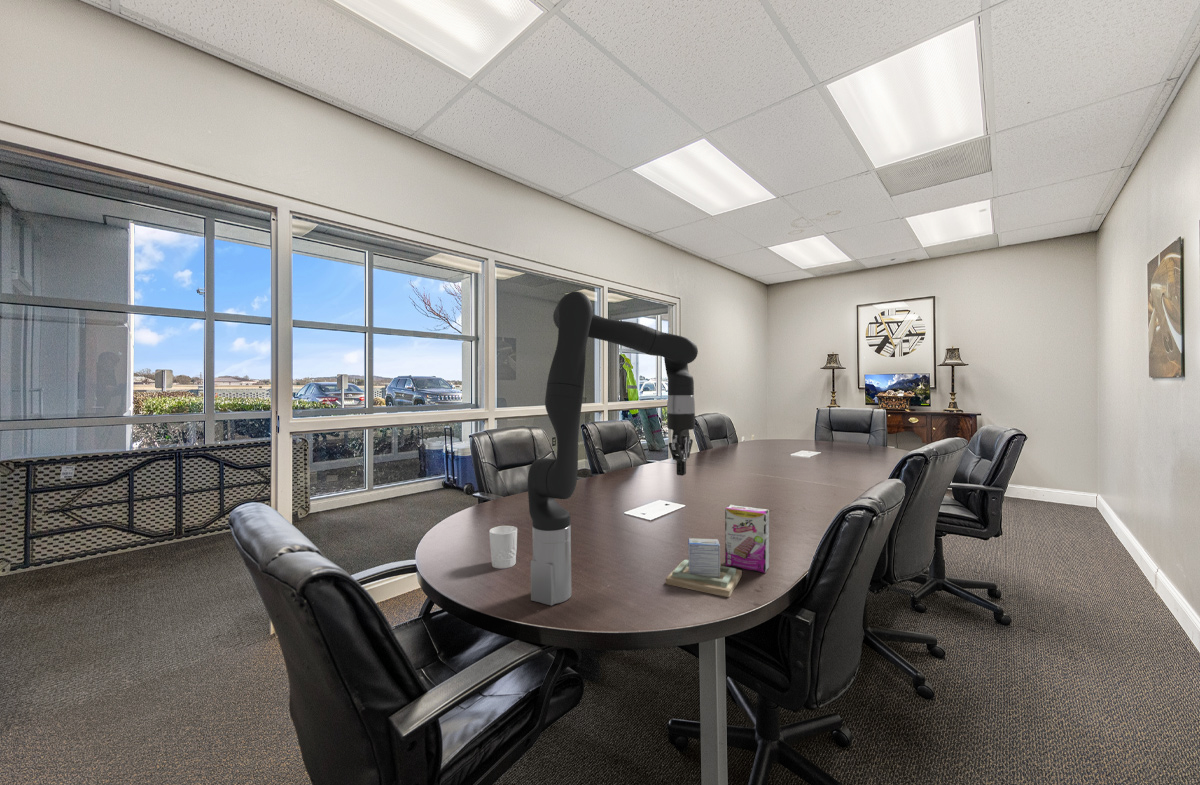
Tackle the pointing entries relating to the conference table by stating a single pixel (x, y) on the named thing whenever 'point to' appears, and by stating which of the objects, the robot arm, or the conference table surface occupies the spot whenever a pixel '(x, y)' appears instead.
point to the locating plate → (705, 580)
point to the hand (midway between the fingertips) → (681, 474)
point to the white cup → (503, 546)
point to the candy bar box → (747, 538)
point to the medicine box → (704, 557)
